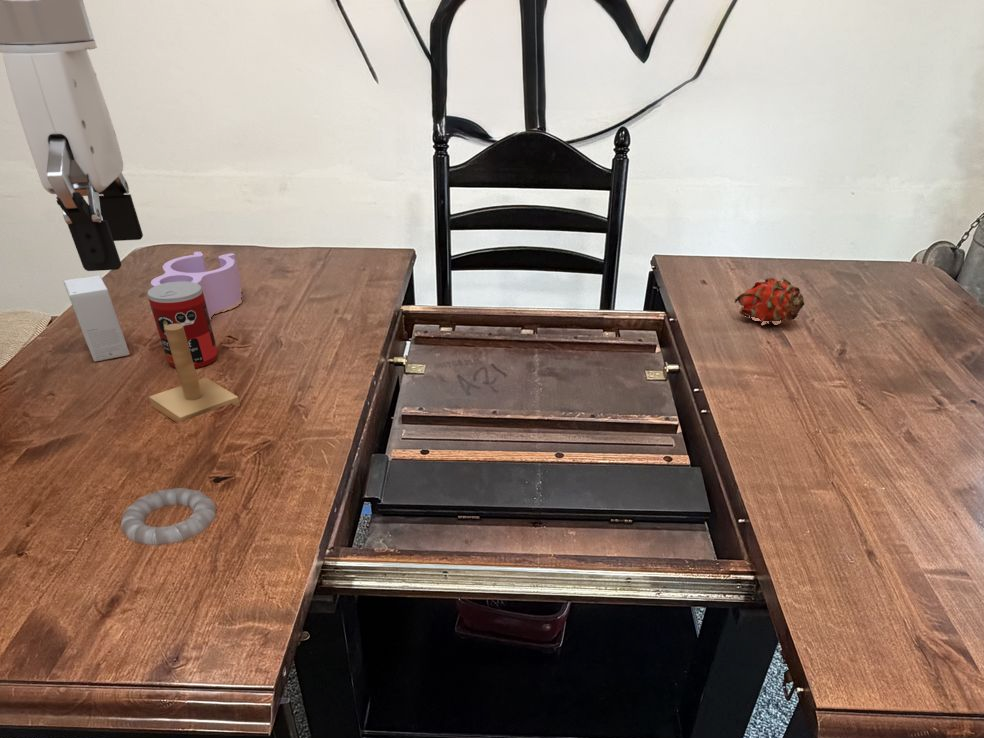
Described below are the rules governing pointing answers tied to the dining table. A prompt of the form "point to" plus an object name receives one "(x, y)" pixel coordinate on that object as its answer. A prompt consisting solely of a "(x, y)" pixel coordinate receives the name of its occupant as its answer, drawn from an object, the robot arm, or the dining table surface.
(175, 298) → the canned food
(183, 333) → the stand
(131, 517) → the ring
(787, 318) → the dragon fruit
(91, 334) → the small box
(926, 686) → the dining table surface
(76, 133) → the robot arm
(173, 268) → the clip
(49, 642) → the dining table surface
